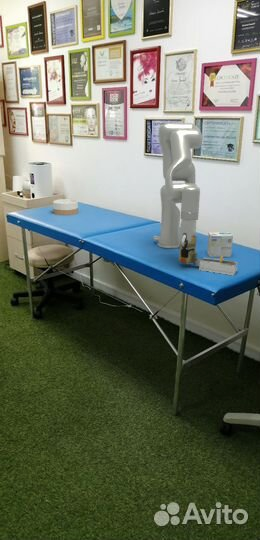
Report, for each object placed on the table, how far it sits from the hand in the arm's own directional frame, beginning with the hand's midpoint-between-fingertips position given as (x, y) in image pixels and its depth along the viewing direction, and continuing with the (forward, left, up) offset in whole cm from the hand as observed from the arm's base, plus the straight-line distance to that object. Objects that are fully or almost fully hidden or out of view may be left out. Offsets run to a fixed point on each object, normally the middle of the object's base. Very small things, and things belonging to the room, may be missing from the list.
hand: (187, 254), depth 179 cm
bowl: (-109, +71, -5) cm, 130 cm away
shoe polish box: (0, 0, -3) cm, 3 cm away
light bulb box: (+10, +22, -5) cm, 25 cm away
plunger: (+10, 0, -4) cm, 10 cm away
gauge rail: (+14, 0, -5) cm, 15 cm away
